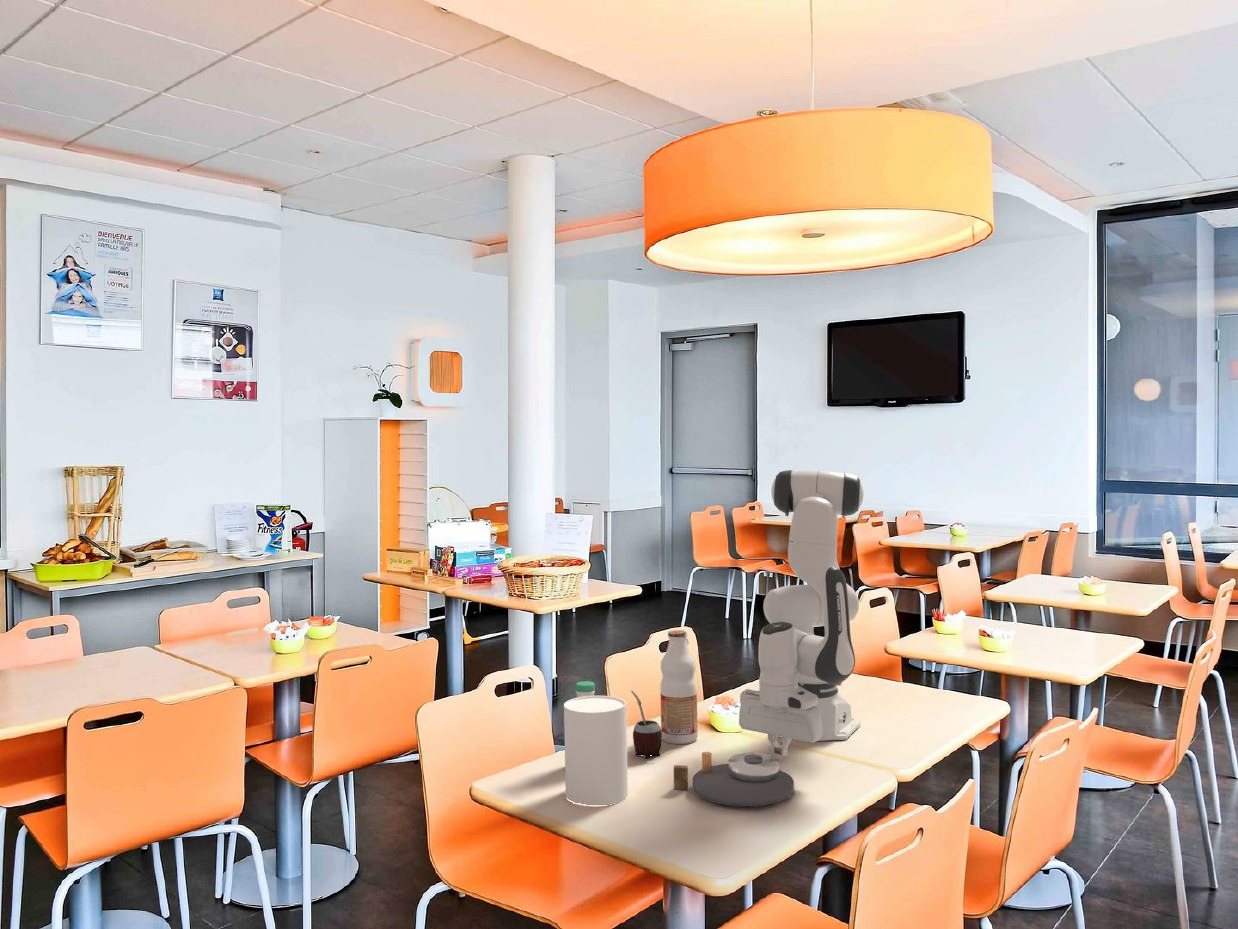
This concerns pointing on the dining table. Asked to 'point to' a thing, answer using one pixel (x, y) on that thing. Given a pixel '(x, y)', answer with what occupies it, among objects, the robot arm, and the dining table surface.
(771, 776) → the cover
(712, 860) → the dining table surface
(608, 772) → the canister
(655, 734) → the mate gourd
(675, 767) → the brown wooden block
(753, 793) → the turntable
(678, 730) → the fruit juice
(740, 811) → the dining table surface
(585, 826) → the dining table surface
